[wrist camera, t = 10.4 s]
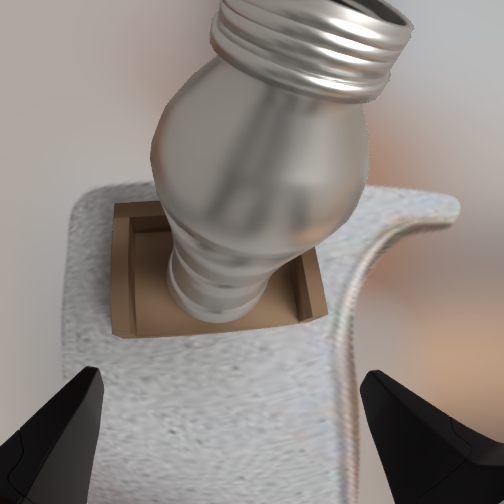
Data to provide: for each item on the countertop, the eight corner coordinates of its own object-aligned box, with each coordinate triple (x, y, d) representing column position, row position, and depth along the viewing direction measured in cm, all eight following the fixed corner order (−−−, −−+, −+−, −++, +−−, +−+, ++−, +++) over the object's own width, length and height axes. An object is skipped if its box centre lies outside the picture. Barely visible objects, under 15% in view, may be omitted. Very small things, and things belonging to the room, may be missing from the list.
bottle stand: (309, 321, 23) (328, 314, 20) (123, 338, 19) (112, 333, 16) (289, 218, 26) (303, 198, 23) (123, 225, 23) (114, 203, 19)
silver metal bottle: (157, 260, 21) (120, -46, 3) (238, 233, 24) (349, -28, 5) (188, 341, 20) (197, 73, 1) (272, 307, 22) (512, 107, 4)
